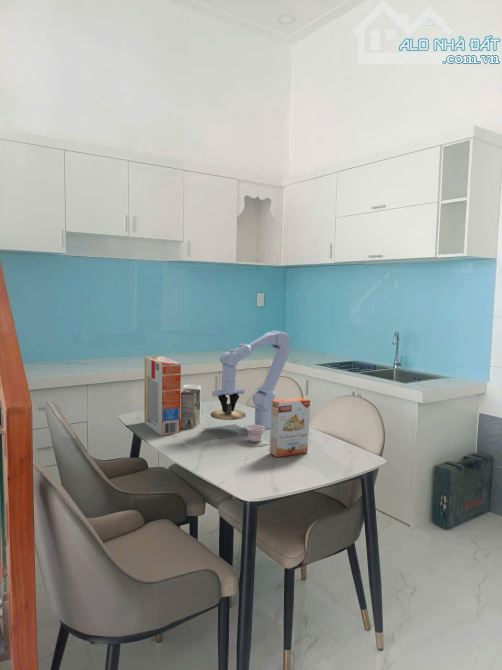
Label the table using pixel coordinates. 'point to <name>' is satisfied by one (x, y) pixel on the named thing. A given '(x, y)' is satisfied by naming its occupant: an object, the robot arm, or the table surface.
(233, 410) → the robot arm
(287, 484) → the table surface
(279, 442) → the cracker box
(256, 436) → the teacup
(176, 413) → the pasta box
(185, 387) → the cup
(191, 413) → the coffee box
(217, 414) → the lid
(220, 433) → the mat
